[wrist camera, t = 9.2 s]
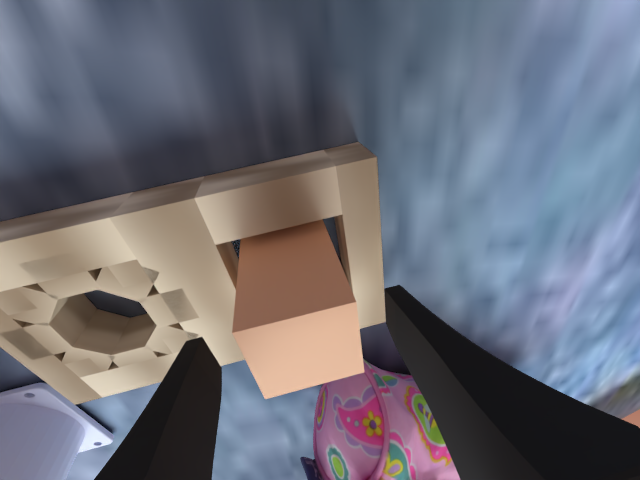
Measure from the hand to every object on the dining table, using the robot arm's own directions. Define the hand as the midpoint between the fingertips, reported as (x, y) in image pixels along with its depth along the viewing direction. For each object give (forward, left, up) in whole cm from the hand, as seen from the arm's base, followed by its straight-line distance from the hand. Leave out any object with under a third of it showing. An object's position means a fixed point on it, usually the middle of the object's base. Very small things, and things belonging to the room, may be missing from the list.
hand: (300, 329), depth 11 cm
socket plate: (-4, 0, -6) cm, 7 cm away
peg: (0, 0, -6) cm, 6 cm away
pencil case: (+8, -18, -6) cm, 21 cm away
